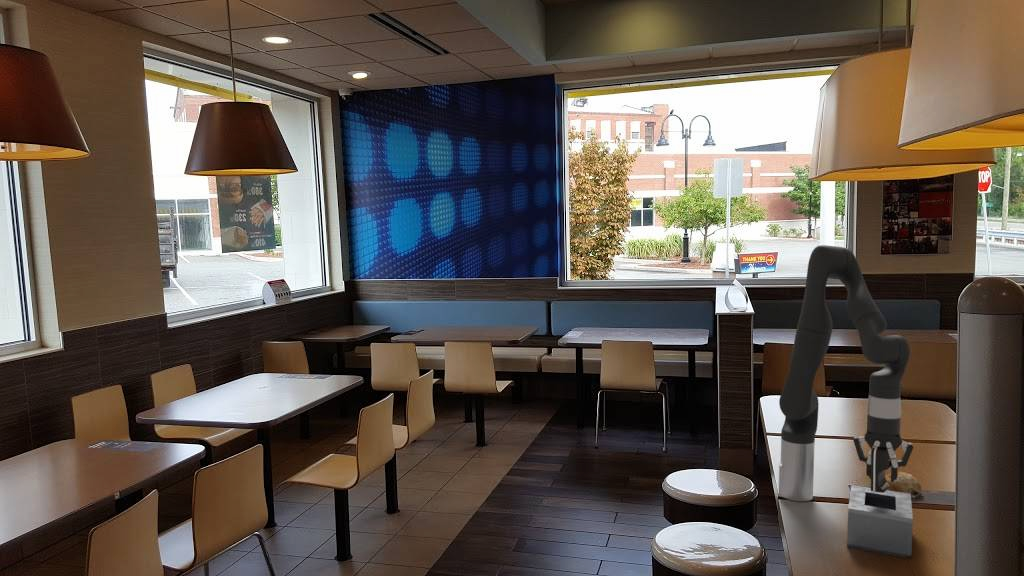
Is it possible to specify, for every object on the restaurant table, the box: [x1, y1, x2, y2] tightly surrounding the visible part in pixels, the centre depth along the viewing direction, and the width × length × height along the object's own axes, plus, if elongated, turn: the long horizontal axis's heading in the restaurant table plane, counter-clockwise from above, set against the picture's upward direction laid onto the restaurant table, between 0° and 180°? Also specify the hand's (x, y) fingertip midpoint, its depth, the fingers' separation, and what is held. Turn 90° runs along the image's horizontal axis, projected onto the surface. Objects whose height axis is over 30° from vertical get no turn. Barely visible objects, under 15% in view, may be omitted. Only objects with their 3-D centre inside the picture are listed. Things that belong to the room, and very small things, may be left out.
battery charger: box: [870, 447, 892, 493], centre depth 178 cm, size 7×4×11 cm, turn 139°
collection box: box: [846, 484, 914, 560], centre depth 179 cm, size 14×18×10 cm
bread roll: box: [885, 471, 922, 499], centre depth 211 cm, size 10×10×8 cm
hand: (881, 479), depth 179 cm, fingers closed on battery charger, 4 cm apart
